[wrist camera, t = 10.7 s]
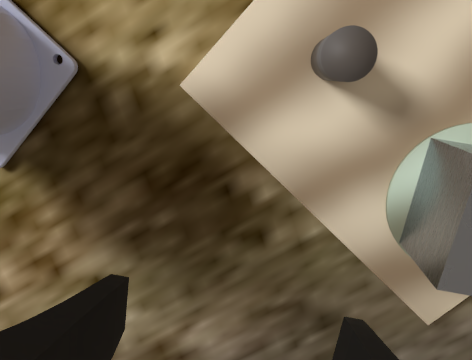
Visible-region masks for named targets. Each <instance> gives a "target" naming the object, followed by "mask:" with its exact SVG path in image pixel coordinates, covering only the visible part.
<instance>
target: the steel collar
mask: <svg viewBox="0 0 472 360" xmlns="http://www.w3.org/2000/svg"><path fill="white" fill-rule="evenodd" d="M399 243H400V244H401V245H402V247H403V248H404V249H405V250H406V252H407V253H408V254H409V255H410V257H411V258H412V259H413V260H414V262H415V263H416V264H417V266H418V267H419V268H420V269H421V271H422V272H423V273H424V274H425V276H426V277H427V278H428V279H429V281H430V282H431V283H432V284H433V286H434V287H435V288H436V290H441V291H447V292H452V293H458V294H464V295H469V296H472V144H466V143H460V142H454V141H448V140H441V139H435V138H431V139H430V142H429V146H428V149H427V152H426V156H425V159H424V162H423V165H422V169H421V172H420V175H419V179H418V182H417V185H416V189H415V192H414V195H413V198H412V202H411V205H410V208H409V212H408V215H407V218H406V222H405V225H404V228H403V231H402V235H401V238H400V241H399Z"/></svg>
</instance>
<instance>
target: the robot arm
mask: <svg viewBox="0 0 472 360" xmlns="http://www.w3.org/2000/svg"><path fill="white" fill-rule="evenodd" d="M58 55H61V56H62V59H63V61H62V63H61V64H59V63H58V61H57V57H58ZM77 71H78V65H77V62H76V61H75V59H74V58H72V57H71V56H70V55H69V54H68V53H67V52H66V51H65V50H64V49H63V48H62V47H61V46H60V45H58V44H57V43H56V42H55V41H54V40H53V39H52V38H51V37H50V36H49V35H48V34H47V33H46V32H45V31H43V30H42V29H41V28H40V27H39V26H38V25H37V24H36V23H35V22H34V21H33V20H32V19H31V18H30V17H28V16H27V15H26V14H25V13H24V12H23V11H22V10H21V9H20V8H19V7H18V6H17V5H16V4H14V3H13V2H12V1H11V0H0V168H2V167H4V166H5V165H6V164H7V162H8V161H9V160H10V158H11V157H12V156H13V154H14V153H15V152H16V151H17V149H18V148H19V147H20V145H21V144H22V143H23V142H24V140H25V139H26V138H27V136H28V135H29V134H30V132H31V131H32V130H33V129H34V127H35V126H36V125H37V123H38V122H39V121H40V120H41V118H42V117H43V116H44V114H45V113H46V112H47V110H48V109H49V108H50V107H51V105H52V104H53V103H54V101H55V100H56V99H57V98H58V96H59V95H60V94H61V92H62V91H63V90H64V89H65V87H66V86H67V85H68V83H69V82H70V81H71V79H72V78H73V77H74V76H75V74H76V73H77ZM128 283H129V277H124V276H118V275H113V274H111V275H109V276H107V277H105V278H103V279H102V280H100V281H98V282H97V283H95V284H93V285H91V286H90V287H88V288H86V289H85V290H83V291H81V292H80V293H78V294H76V295H74V296H72V297H71V298H69V299H67V300H65V301H64V302H62V303H60V304H58V305H56V306H54V307H52V308H50V309H48V310H46V311H44V312H42V313H40V314H38V315H37V316H35V317H32V318H30V319H28V320H26V321H24V322H21V323H19V324H17V325H15V326H12V327H10V328H7V329H5V330H2V331H0V360H111V359H112V357H113V355H114V352H115V350H116V348H117V346H118V344H119V341H120V339H121V337H122V334H123V332H124V330H125V320H126V307H127V295H128ZM332 360H399V359H398V358H397V357H396V356H395V355H394V354H393V353H392V352H391V350H390V349H389V348H388V347H387V346H386V345H385V344H384V343H383V341H382V340H381V339H380V338H379V337H378V336H377V335H376V334H375V332H374V331H373V330H372V329H371V328H370V327H369V326H368V325H367V324H366V323H365V322H364V321H363V320H360V319H354V318H349V317H344V319H343V323H342V326H341V330H340V333H339V337H338V341H337V344H336V348H335V352H334V355H333V359H332Z"/></svg>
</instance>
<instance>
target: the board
mask: <svg viewBox="0 0 472 360" xmlns="http://www.w3.org/2000/svg"><path fill="white" fill-rule="evenodd" d="M180 86H181V87H182V88H183V89H184V90H185V91H186V92H187V93H188V94H189V95H190V96H191V97H192V98H193V99H194V100H195V101H196V102H197V103H198V104H199V105H200V106H201V107H202V108H203V109H205V110H206V111H207V112H208V113H209V114H210V115H211V116H212V117H213V118H214V119H215V120H216V121H217V122H218V123H219V124H220V125H221V126H222V127H223V128H224V129H225V130H226V131H227V132H228V133H229V134H230V135H231V136H232V137H234V138H235V139H236V140H237V141H238V142H239V143H240V144H241V145H242V146H243V147H244V148H245V149H246V150H247V151H248V152H249V153H250V154H251V155H252V156H253V157H254V158H255V159H256V160H257V161H258V162H259V163H260V164H261V165H263V166H264V167H265V168H266V169H267V170H268V171H269V172H270V173H271V174H272V175H273V176H274V177H275V178H276V179H277V180H278V181H279V182H280V183H281V184H282V185H283V186H284V187H285V188H286V189H287V190H288V191H289V192H290V193H292V194H293V195H294V196H295V197H296V198H297V199H298V200H299V201H300V202H301V203H302V204H303V205H304V206H305V207H306V208H307V209H308V210H309V211H310V212H311V213H312V214H313V215H314V216H315V217H316V218H317V219H318V220H319V221H321V222H322V223H323V224H324V225H325V226H326V227H327V228H328V229H329V230H330V231H331V232H332V233H333V234H334V235H335V236H336V237H337V238H338V239H339V240H340V241H341V242H342V243H343V244H344V245H345V246H346V247H347V248H348V249H350V250H351V251H352V252H353V253H354V254H355V255H356V256H357V257H358V258H359V259H360V260H361V261H362V262H363V263H364V264H365V265H366V266H367V267H368V268H369V269H370V270H371V271H372V272H373V273H374V274H375V275H376V276H377V277H378V278H380V279H381V280H382V281H383V282H384V283H385V284H386V285H387V286H388V287H389V288H390V289H391V290H392V291H393V292H394V293H395V294H396V295H397V296H398V297H399V298H400V299H401V300H402V301H403V302H404V303H405V304H406V305H407V306H409V307H410V308H411V309H412V310H413V311H414V312H415V313H416V314H417V315H418V316H419V317H420V318H421V319H422V320H423V321H424V322H425V323H426V324H427V325H430V324H431V323H432V322H434V321H435V320H437V319H438V318H439V317H441V316H442V315H444V314H445V313H446V312H448V311H449V310H451V309H452V308H453V307H455V306H456V305H458V304H459V303H460V302H462V301H463V300H465V299H466V298H467V297H469V295H464V294H458V293H452V292H447V291H441V290H436V288H435V287H434V286H433V284H432V283H431V282H430V281H429V279H428V278H427V277H426V276H425V274H424V273H423V272H422V271H421V269H420V268H419V267H418V266H417V264H416V263H415V262H414V260H413V259H412V258H411V257H410V255H409V254H408V253H407V252H406V250H405V249H404V248H403V247H402V245H401V244H400V243H399V241H400V238H401V235H402V231H403V228H404V225H405V222H406V218H407V215H408V212H409V208H410V205H411V202H412V198H413V195H414V192H415V189H416V185H417V182H418V179H419V175H420V172H421V169H422V165H423V162H424V159H425V156H426V152H427V149H428V146H429V142H430V139H431V138H435V139H441V140H448V141H454V142H460V143H466V144H472V0H254V1H253V2H252V3H251V4H250V5H249V7H248V8H247V9H246V10H245V11H244V12H243V13H242V15H241V16H240V17H239V18H238V19H237V20H236V21H235V23H234V24H233V25H232V26H231V27H230V28H229V29H228V31H227V32H226V33H225V34H224V35H223V36H222V37H221V39H220V40H219V41H218V42H217V43H216V44H215V45H214V47H213V48H212V49H211V50H210V51H209V52H208V53H207V55H206V56H205V57H204V58H203V59H202V60H201V61H200V63H199V64H198V65H197V66H196V67H195V68H194V69H193V71H192V72H191V73H190V74H189V75H188V76H187V77H186V79H185V80H184V81H183V82H182V83H181V84H180Z"/></svg>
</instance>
